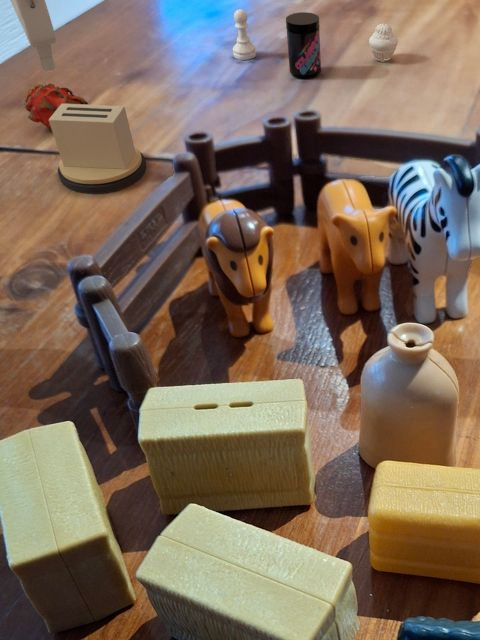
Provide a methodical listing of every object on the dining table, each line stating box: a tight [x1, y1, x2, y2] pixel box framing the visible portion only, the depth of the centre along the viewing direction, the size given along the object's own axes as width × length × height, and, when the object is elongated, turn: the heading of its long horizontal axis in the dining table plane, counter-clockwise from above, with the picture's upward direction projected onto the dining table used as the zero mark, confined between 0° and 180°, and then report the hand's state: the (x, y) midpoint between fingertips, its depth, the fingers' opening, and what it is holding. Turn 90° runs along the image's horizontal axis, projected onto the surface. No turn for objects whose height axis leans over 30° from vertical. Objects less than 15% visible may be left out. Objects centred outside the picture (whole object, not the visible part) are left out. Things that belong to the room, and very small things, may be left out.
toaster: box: [49, 104, 142, 184], centre depth 123 cm, size 14×14×9 cm
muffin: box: [368, 23, 398, 63], centre depth 155 cm, size 6×6×7 cm
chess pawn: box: [232, 8, 257, 61], centre depth 156 cm, size 5×5×9 cm
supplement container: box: [285, 11, 322, 80], centre depth 149 cm, size 7×7×10 cm
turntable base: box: [57, 151, 147, 194], centre depth 127 cm, size 15×15×1 cm
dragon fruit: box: [23, 83, 89, 133], centre depth 136 cm, size 8×8×12 cm
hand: (43, 56), depth 109 cm, fingers open, 8 cm apart
